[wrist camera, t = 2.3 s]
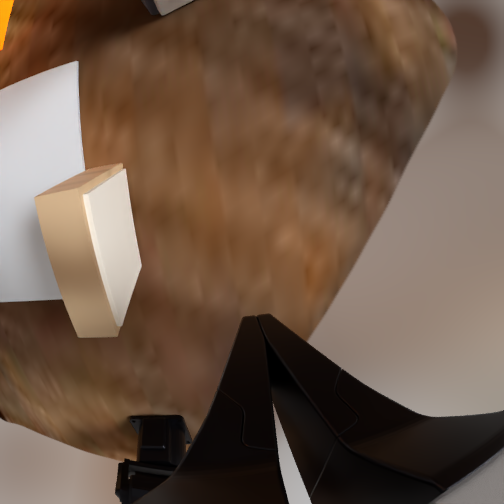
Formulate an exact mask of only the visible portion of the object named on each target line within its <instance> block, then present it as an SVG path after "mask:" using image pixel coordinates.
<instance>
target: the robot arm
mask: <svg viewBox="0 0 504 504" xmlns="http://www.w3.org/2000/svg"><path fill="white" fill-rule="evenodd" d="M272 401H273V402H272ZM273 404H274V407H275V409H276V412H277V415H278V417H279V420H280V423H281V425H282V428H283V431H284V433H285V436H286V438H287V441H288V444H289V447H290V449H291V452H292V454H293V457H294V460H295V462H296V465H297V467H298V470H299V472H300V475H301V478H302V480H303V482H304V485H305V488H306V490H307V492H308V495H309V497H310V500H311V503H312V504H504V410H503V411H500V412H494V413H486V414H477V415H465V416H450V417H430V416H425V415H421V414H419V413H416V412H414V411H412V410H410V409H408V408H406V407H404V406H402V405H401V404H399V403H397V402H395V401H393V400H391V399H389V398H388V397H386V396H384V395H382V394H380V393H378V392H377V391H375V390H373V389H372V388H370V387H368V386H367V385H365V384H363V383H362V382H360V381H359V380H357V379H356V378H354V377H353V376H352V375H350V374H349V373H347V372H346V371H344V370H343V369H342V370H341V367H339V366H338V365H336V364H335V363H334V362H332V361H331V360H330V359H328V358H327V357H326V356H324V355H323V354H322V353H320V352H319V351H318V350H316V349H315V348H314V347H312V346H311V345H310V344H309V343H307V342H306V341H305V340H303V339H302V338H301V337H299V336H298V335H297V334H295V333H294V332H293V331H292V330H290V329H289V328H288V327H286V326H285V325H284V324H282V323H281V322H280V321H279V320H277V319H276V318H275V317H273V316H272V315H271V314H261V315H257V317H256V316H254V315H253V316H245V317H243V318H242V320H241V323H240V326H239V329H238V332H237V334H236V337H235V340H234V343H233V346H232V349H231V351H230V354H229V357H228V360H227V363H226V366H225V368H224V371H223V374H222V377H221V380H220V382H219V385H218V388H217V391H216V393H215V396H214V399H213V401H212V404H211V406H210V409H209V411H208V414H207V416H206V418H205V420H204V422H203V424H202V425H201V427H200V429H199V431H198V433H197V435H196V436H195V438H194V440H193V441H192V438H191V436H190V433H189V431H188V428H187V426H186V423H185V421H184V418H183V417H182V416H152V417H130V422H131V424H132V426H133V427H134V429H135V430H136V432H137V434H138V446H137V461H132V460H129V459H125V460H124V462H123V463H119V464H118V476H117V482H116V489H115V494H116V495H117V497H118V498H119V499H120V502H122V504H289V502H288V498H287V494H286V490H285V486H284V482H283V478H282V474H281V470H280V463H279V455H278V446H277V438H276V428H275V420H274V411H273ZM186 444H191V445H190V447H189V448H188V450H187V452H186ZM129 478H130V479H129Z"/></svg>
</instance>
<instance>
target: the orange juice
mask: <svg viewBox="0 0 504 504" xmlns="http://www.w3.org/2000/svg"><path fill="white" fill-rule="evenodd" d="M13 2H14V0H0V50H2V48H3V43H4V38H5V33H6V29H7V24H8V20H9V16H10V12H11V9H12V5H13Z"/></svg>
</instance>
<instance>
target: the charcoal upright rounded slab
mask: <svg viewBox="0 0 504 504" xmlns="http://www.w3.org/2000/svg"><path fill="white" fill-rule="evenodd" d="M141 1H142V2H143V4H144V5H145V7H146V8H147V9H148V11H149V12H150V14H151V15H157V14H159V13H160V14H161V15H165V14H168V13H169V12H171V11H173V10H175V9H177V8H179V7H181V6H183V5H185V4H187V3H189V2H191V1H193V0H141Z"/></svg>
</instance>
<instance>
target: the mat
mask: <svg viewBox="0 0 504 504" xmlns="http://www.w3.org/2000/svg"><path fill="white" fill-rule="evenodd" d="M83 171H85V164H84V156H83V147H82V137H81V125H80V110H79V84H78V61H75V62H71V63H68V64H65V65H62V66H59V67H56V68H53V69H50V70H47V71H44V72H42V73H39V74H37V75H34V76H31V77H29V78H26V79H24V80H22V81H19V82H17V83H15V84H12V85H10V86H8V87H6V88H4V89H2V90H0V302H16V301H37V300H56V299H63V298H62V296H61V293H60V290H59V287H58V284H57V281H56V279H55V275H54V272H53V269H52V266H51V263H50V260H49V256H48V253H47V249H46V246H45V242H44V238H43V235H42V231H41V227H40V223H39V218H38V214H37V209H36V205H35V200H34V197H35V196H37V195H39V194H41V193H43V192H44V191H46V190H48V189H50V188H52V187H54V186H56V185H57V184H59V183H61V182H63V181H65V180H67V179H69V178H71V177H73V176H75V175H77V174H79V173H81V172H83Z"/></svg>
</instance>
